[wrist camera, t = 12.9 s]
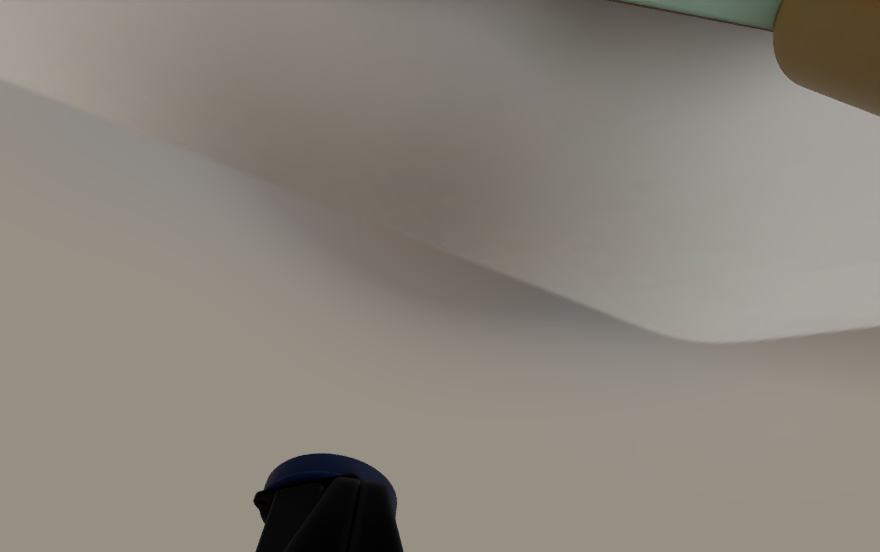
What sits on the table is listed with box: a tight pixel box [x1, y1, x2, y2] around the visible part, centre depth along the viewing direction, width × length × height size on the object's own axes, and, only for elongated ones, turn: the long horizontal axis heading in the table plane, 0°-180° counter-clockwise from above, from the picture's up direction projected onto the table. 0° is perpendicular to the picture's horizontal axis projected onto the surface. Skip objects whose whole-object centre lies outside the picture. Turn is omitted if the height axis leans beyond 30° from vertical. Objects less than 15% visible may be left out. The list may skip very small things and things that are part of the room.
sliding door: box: [618, 0, 880, 116], centre depth 11 cm, size 2×8×11 cm, turn 81°
